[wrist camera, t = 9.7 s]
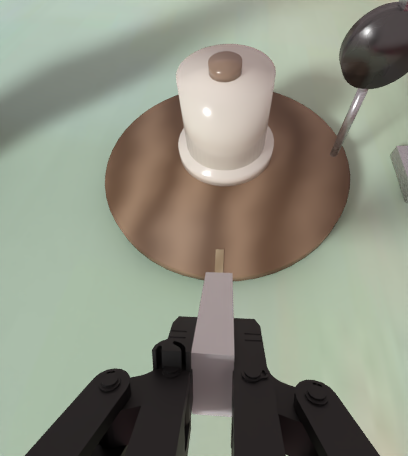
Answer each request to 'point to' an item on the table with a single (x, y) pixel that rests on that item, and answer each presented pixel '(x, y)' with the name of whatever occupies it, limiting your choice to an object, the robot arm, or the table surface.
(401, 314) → the table surface
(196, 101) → the canister
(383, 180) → the table surface
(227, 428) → the table surface
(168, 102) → the turntable
